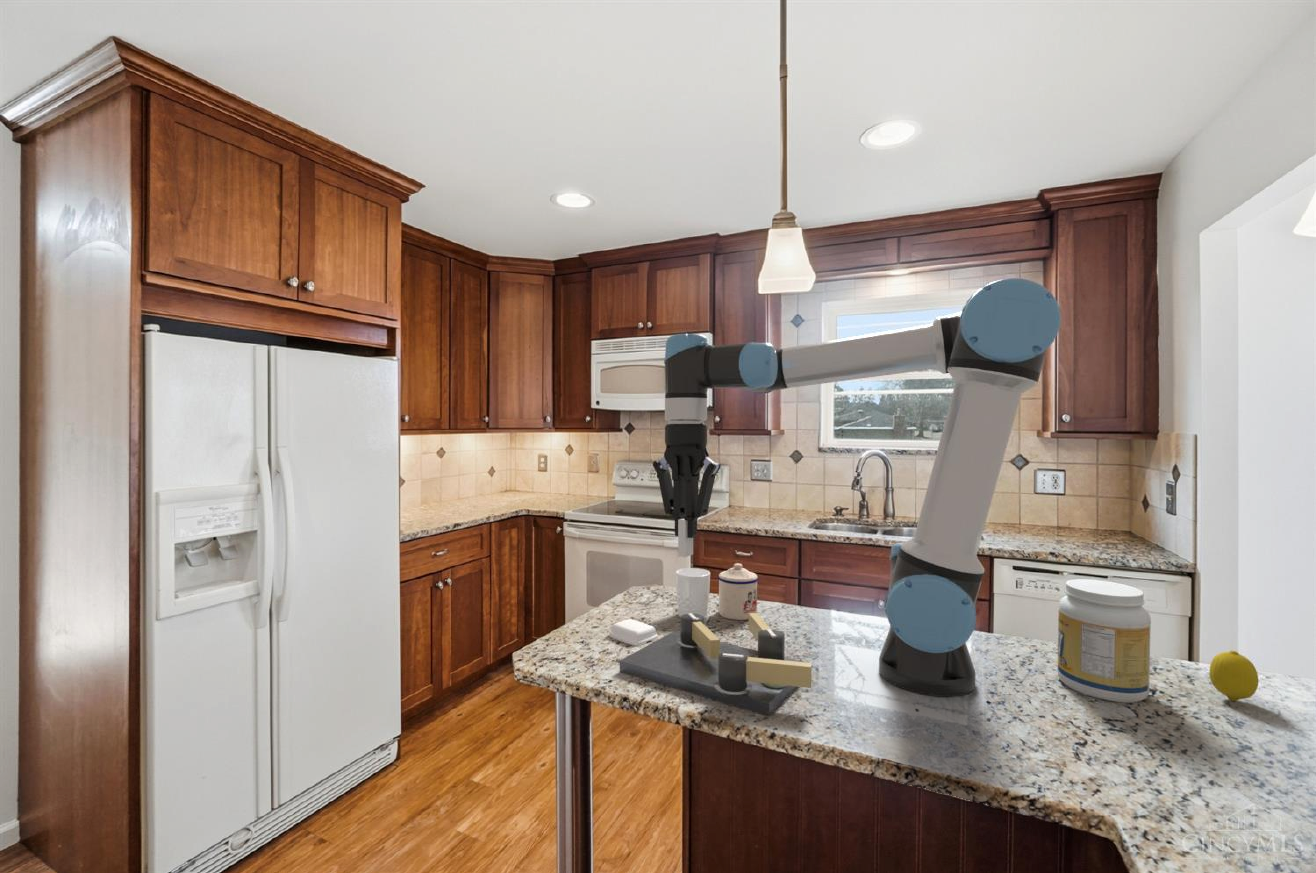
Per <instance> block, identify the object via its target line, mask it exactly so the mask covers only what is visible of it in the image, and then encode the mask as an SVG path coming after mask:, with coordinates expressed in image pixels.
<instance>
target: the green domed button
mask: <svg viewBox="0 0 1316 873" xmlns="http://www.w3.org/2000/svg"><path fill="white" fill-rule="evenodd" d="M763 684H764V685H765V686H768V687H771V688H783V687H786V686H787V685H778V684H768V683H763Z"/></svg>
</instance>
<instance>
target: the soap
mask: <svg viewBox="0 0 1316 873" xmlns="http://www.w3.org/2000/svg"><path fill="white" fill-rule="evenodd" d="M608 637H610V638H612V639H615V640H617V641H619V642H622V643H625V644H628V645H630V646H631V645H632V646H634V647H639V646H642V645H646V644H647V642H655V641H657V640H659V639H658V638H659V637H658V634H657V631H656V628H655V626H652V625H650V624H647V623H645V622H642V621H638V620H635V619H631V618H628V619H626V620H621V621H618V622H616V623H614V624H612V625H611V627H610V631H609V632H608Z"/></svg>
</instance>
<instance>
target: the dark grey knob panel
mask: <svg viewBox="0 0 1316 873" xmlns="http://www.w3.org/2000/svg"><path fill="white" fill-rule="evenodd" d="M727 651H735V652H740V653H743V654H745V655H747V657H753V658H758V649H757V650H756V649H753V648H752V649H751V648H748V647H743V646H739V645H735V644H732V643H726V642H721V641H720V653H723V652H727ZM784 660H785V661H795V662H806V663H810V662H809V661H804V660H800V659H795V658H791V657H786V656H784ZM619 673H622V674H624V675H629V676H631V677H635V678H639V679H640V680H641V679H642V680H646V681H649V682H652V683H656V684H658V685H662V686H666V687H669V688H672V689H675V690H678V691H683V692H685V693H688V694H691V695H692V694H693V695H695V696H699V697H703V698H706V699H709V700H713V701H717V702H719V703H723V704H727V705H729V706H730V705H731V706H734V707H736V708H740V709H743V710H746V711H750V712H752V713H753V712H754V713H757V714H760V715H763V716H767V717H770V716H771V715H772V714H773V713H774V712H775V711H776V710H777V709H778V708H779V707H780V706H781V705H782V704H783V703H784V701H786V699H788V698H789V697H790V696H791V694H793V693H794V692H795V691H796V689H797V688H798V687H797V686H786V687H783V688H771V687H768V686H765V685H764V684H763V683H759V682H749V681H748V686H747V688H746V689H744V690H740V691H729V690H725V689H723V688H721V687H720V686H719V685H718V658H716V659H710V658H709V657H708V656H707V654H706V653H705V652H704V651H703V650H702V649H701V648H700V647H699V646H698V645H688V644H684V643H682V642H681V641H680V631H675V630H674V631H672V632H670V633H668V634H666V635H664V636H663V637H660V638H659V639H656V640H654V641H652V642H651V643H650V644H648V645H646V646H644V647H642V648H640V649H638V650H637V651H635V652H633V653H631V654H629V655H627V656H626V657H624V658H621V659H620V660H619Z"/></svg>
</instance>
